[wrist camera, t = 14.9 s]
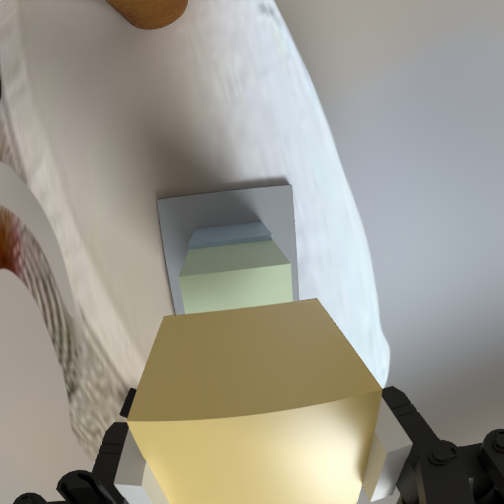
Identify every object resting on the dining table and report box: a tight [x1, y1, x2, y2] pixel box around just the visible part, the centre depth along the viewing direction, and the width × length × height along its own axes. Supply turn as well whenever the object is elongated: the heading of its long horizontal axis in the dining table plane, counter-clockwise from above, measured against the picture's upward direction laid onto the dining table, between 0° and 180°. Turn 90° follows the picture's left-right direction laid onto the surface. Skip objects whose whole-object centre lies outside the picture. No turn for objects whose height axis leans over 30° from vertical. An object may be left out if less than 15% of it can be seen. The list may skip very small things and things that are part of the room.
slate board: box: [157, 185, 299, 315], centre depth 30 cm, size 12×12×1 cm
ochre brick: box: [127, 298, 383, 504], centre depth 10 cm, size 6×6×6 cm
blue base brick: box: [188, 222, 273, 249], centre depth 26 cm, size 6×6×6 cm
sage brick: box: [179, 240, 293, 314], centre depth 21 cm, size 6×6×6 cm
